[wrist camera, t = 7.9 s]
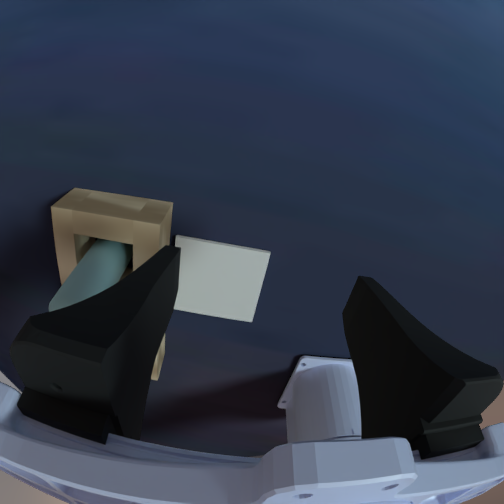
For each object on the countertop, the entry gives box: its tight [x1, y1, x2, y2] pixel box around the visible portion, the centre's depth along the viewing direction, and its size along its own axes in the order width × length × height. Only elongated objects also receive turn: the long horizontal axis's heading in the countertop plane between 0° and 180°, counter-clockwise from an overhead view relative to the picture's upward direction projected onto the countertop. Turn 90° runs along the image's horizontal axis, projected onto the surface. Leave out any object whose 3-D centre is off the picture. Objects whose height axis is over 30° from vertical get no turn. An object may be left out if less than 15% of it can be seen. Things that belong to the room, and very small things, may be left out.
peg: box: [49, 238, 133, 312], centre depth 20 cm, size 3×3×9 cm
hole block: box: [51, 188, 173, 380], centre depth 24 cm, size 16×8×4 cm, turn 169°
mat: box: [174, 235, 270, 322], centre depth 25 cm, size 7×7×1 cm
